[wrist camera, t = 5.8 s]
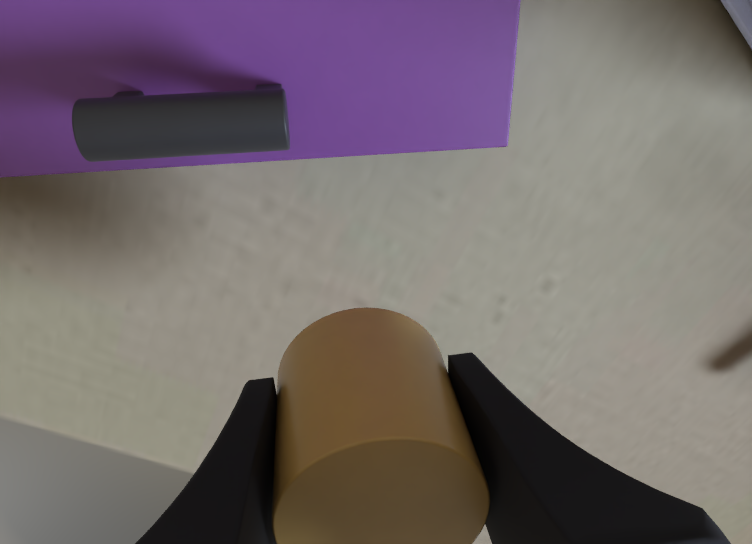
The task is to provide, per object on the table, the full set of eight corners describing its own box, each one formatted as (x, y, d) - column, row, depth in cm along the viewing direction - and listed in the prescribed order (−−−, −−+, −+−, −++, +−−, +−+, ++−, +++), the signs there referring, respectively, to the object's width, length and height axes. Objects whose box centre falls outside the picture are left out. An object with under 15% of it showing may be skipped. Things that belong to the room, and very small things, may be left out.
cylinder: (475, 362, 16) (534, 497, 12) (369, 459, 17) (391, 611, 13) (351, 275, 14) (373, 401, 10) (243, 391, 15) (226, 542, 11)
